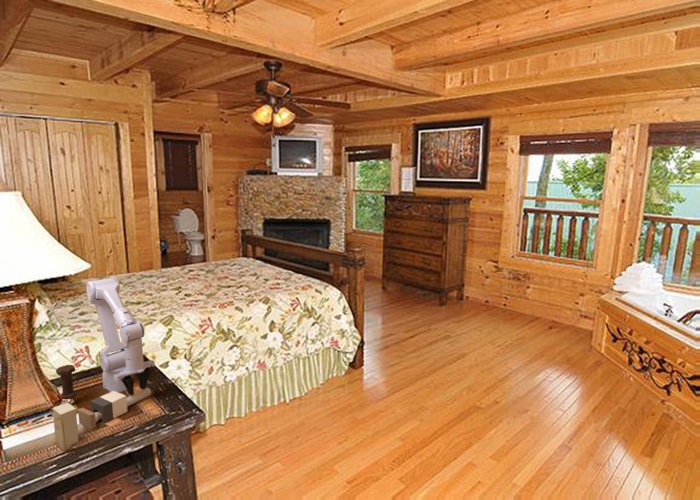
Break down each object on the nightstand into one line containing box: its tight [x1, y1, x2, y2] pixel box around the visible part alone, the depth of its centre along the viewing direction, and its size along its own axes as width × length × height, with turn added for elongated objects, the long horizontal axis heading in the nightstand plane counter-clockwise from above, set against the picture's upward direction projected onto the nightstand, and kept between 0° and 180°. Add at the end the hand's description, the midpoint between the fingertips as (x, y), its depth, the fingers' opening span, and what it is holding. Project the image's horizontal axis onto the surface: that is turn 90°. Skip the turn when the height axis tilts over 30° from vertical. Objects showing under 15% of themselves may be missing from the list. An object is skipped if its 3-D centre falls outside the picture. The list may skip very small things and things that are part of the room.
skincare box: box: [52, 402, 80, 452], centre depth 126 cm, size 6×4×12 cm
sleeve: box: [100, 391, 128, 420], centre depth 142 cm, size 7×5×6 cm
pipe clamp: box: [77, 387, 152, 431], centre depth 144 cm, size 16×26×6 cm, turn 152°
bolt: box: [55, 364, 78, 401], centre depth 147 cm, size 6×5×15 cm
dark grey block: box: [90, 396, 113, 424], centre depth 139 cm, size 7×3×6 cm, turn 62°
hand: (136, 391), depth 150 cm, fingers open, 4 cm apart
